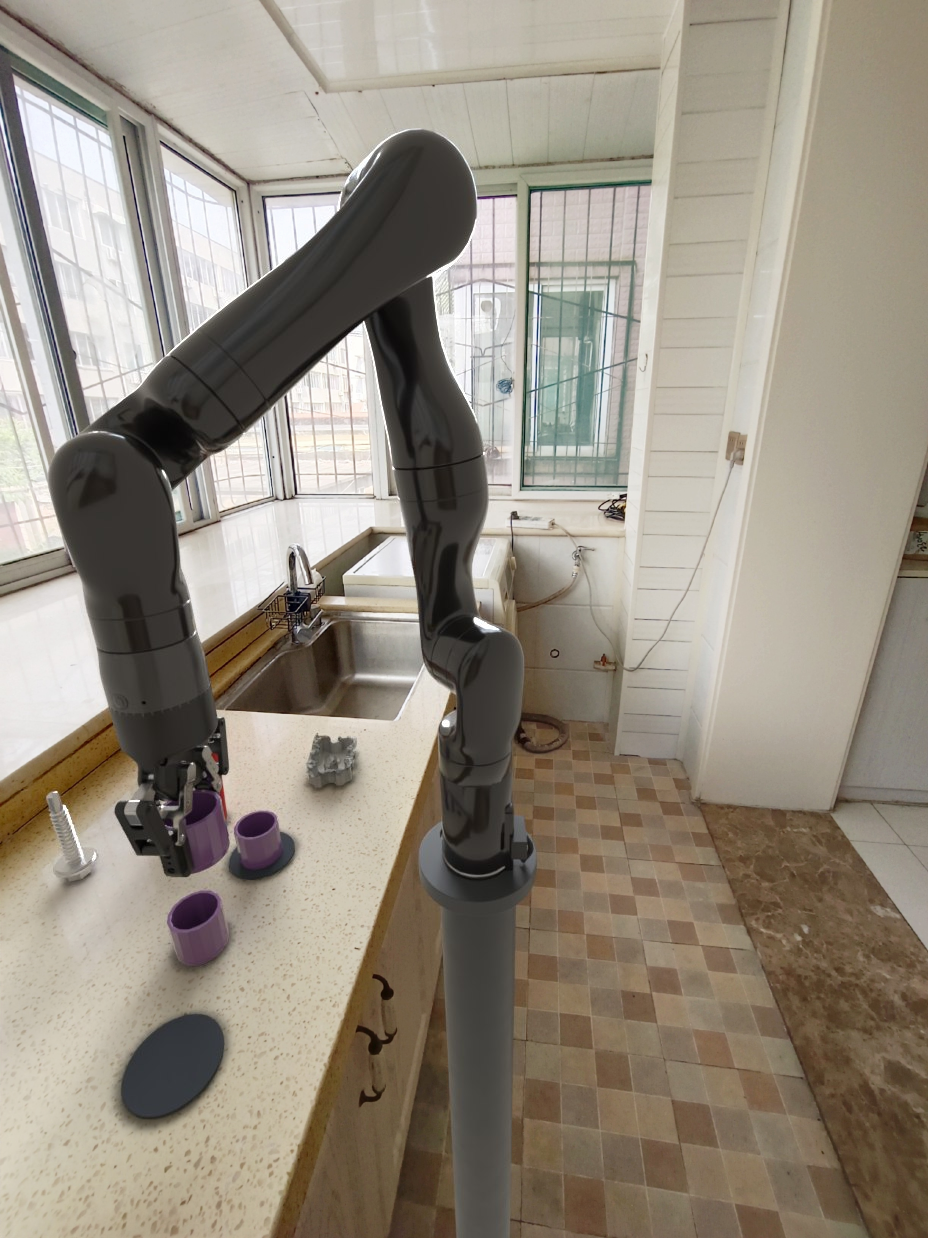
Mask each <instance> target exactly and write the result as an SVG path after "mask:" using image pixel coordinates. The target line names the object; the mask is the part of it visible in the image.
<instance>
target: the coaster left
mask: <svg viewBox="0 0 928 1238" xmlns="http://www.w3.org/2000/svg"><path fill="white" fill-rule="evenodd" d="M224 1052H225V1036H224V1032H223V1030H222V1027H221V1025H220V1023H218V1021H217V1020H216V1019H215V1018H213V1017H211V1016H210V1015H207V1014H202V1013H189V1014H184V1015H181V1016H178V1017H175V1018H173V1019H170V1020H169V1021H167V1022H165V1023H164V1024H162V1025H161V1026H159V1027H157V1028H156V1029H155V1030H154V1031H152V1033H150V1034H149V1035H148V1036H147V1037H146V1038H145V1039H144V1040H142V1042H141V1043H140V1044H139V1045H138V1047H137V1048H136V1050H135V1051H134V1052H133V1053H132V1056H131V1057H130V1059H129V1060H128V1063H127V1065H126V1067H125V1069H124V1072H123V1076H122V1080H121V1087H120V1090H121V1091H120V1094H121V1098H122V1099H121V1100H122V1102H123V1104H124V1106H125V1108H126V1109H127V1111H128V1112H129V1113H131V1114H132V1115H133V1116H135V1117H136V1118H140V1119H143V1120H144V1119H145V1120H155V1119H161V1118H164V1117H169V1116H170V1115H173V1114H174V1113H177V1112H178V1111H180V1110H182V1109H183V1108H185V1107H187V1106H188V1105H189V1104H190V1103H192V1102H193V1101H194V1100H195V1099H196V1098H197V1097H199V1096H200V1095H201V1094H202V1092H204V1090H205V1089H206V1088H207V1087H208V1085H209V1084H210V1083H211V1082H212V1080H213V1078H214V1077H215V1075H216V1073H217V1071H218V1069H219V1067H220V1065H221V1062H222V1059H223V1056H224Z"/></svg>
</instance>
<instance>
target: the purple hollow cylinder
mask: <svg viewBox="0 0 928 1238" xmlns="http://www.w3.org/2000/svg"><path fill="white" fill-rule="evenodd" d="M166 925H167V929H168V933H169V936H170V940H171V942H172V946H173V950H174V952H175V953H174V954H176V958H177V961H178V962H179V963H180V964H182V965H184V966H187V967H196V966H197V967H198V966H201V965H204V964H207V963H209V962H210V961H212V960H214V959H215V958H217V957H218V955H220V954H221V953H222V951H223V950H224V949H225V948H226V946H227V944H228V942H229V938H230V931H229V923H228V921H227V917H226V911H225V909H224V904H223V900H222V897H221V896H220V894H219V893H218V892H215V891H213V890H211V889H208V890H207V889H206V890H205V889H202V890H198V891H195V892H191V893H189V894H188V895H185V896H184V897H182V898H180V899H179V900H178V901H177V902H176V903H175V904H174V905H173V906H172V907H171V909H170V910H169V912H168V914H167V918H166Z"/></svg>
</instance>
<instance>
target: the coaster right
mask: <svg viewBox="0 0 928 1238" xmlns="http://www.w3.org/2000/svg"><path fill="white" fill-rule="evenodd" d="M280 835H281V840H282V847H283V851H282V854H281V856H280V857H279V859H278V860H277V861H276V862H274V863H273V864H272V865H270V866H268V867H266V868H263V869H258V870H251V869H247V868H245V867H244V866H243V865H242V864H241V861H240V858H239V854H238V849H237V846H236V847H235V848H234V849H233V851H232V852H231V854H230V856H229V860H228V868H229V870H230V872H231V873H232V874H233V876H235V877H236V878H238V879H241V880H245V881H256V880H262V879H265V878H268V877H271V876H273V875H275V874H277V873H279V872H280V871H281V870H283V869H284V868H286V866H287V865H288V864H289V863H291V861H292V859H293V858H294V855H295V852H296V845H295V844H296V843H295V840H294V839H293V838H292V837H291V835H290V834H288V833H286V832H283V831H280Z"/></svg>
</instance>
